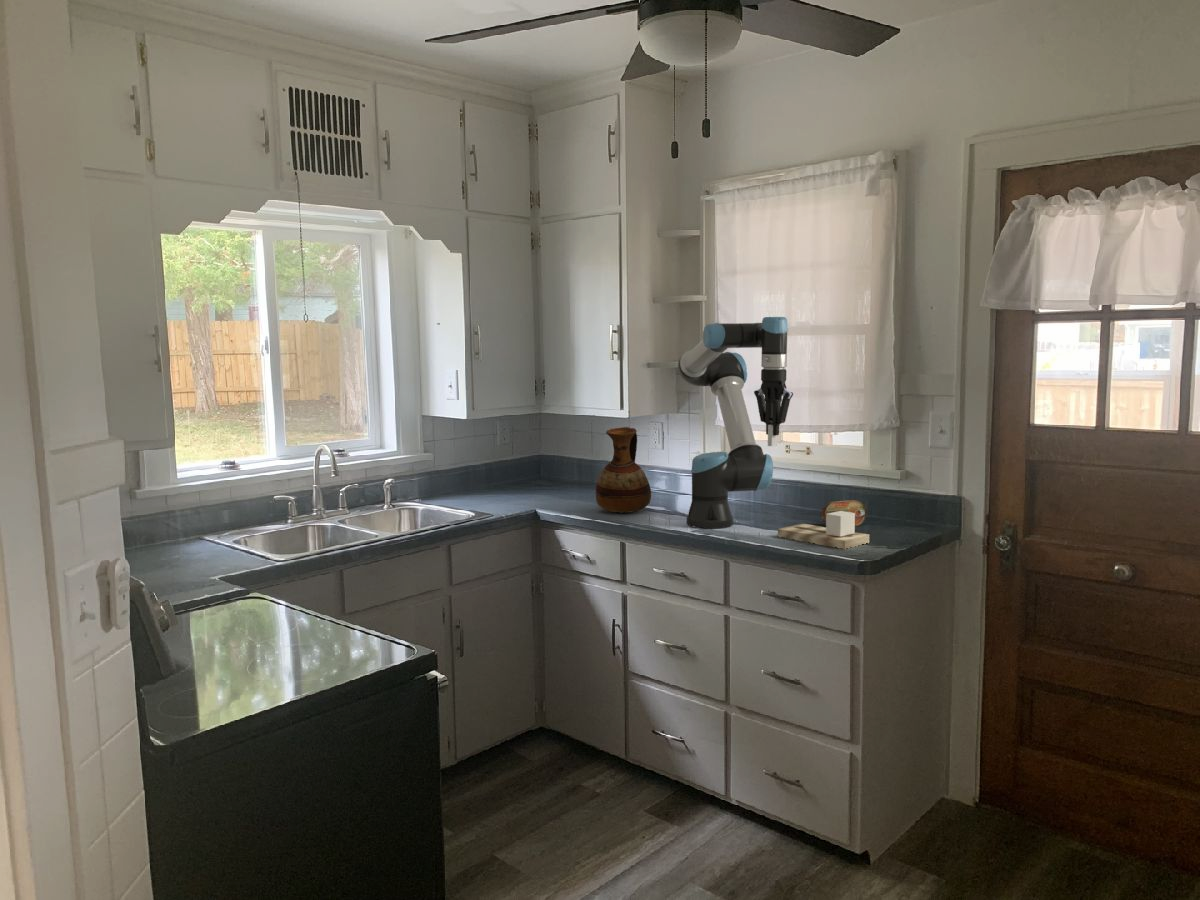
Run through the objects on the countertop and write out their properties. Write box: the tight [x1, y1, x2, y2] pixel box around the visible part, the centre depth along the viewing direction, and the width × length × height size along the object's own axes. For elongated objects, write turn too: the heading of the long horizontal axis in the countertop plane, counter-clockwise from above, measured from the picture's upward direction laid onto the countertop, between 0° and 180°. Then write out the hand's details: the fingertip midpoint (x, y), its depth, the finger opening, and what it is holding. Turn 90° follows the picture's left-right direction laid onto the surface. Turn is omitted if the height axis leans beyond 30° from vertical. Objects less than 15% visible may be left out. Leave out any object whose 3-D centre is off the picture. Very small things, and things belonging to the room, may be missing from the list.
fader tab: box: [825, 511, 856, 537], centre depth 270 cm, size 5×7×6 cm
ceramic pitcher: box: [595, 426, 652, 514], centre depth 328 cm, size 20×20×30 cm
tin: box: [821, 499, 867, 527], centre depth 295 cm, size 15×3×8 cm, turn 106°
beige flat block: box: [777, 523, 870, 550], centre depth 275 cm, size 24×12×3 cm, turn 40°
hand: (772, 445), depth 282 cm, fingers closed
